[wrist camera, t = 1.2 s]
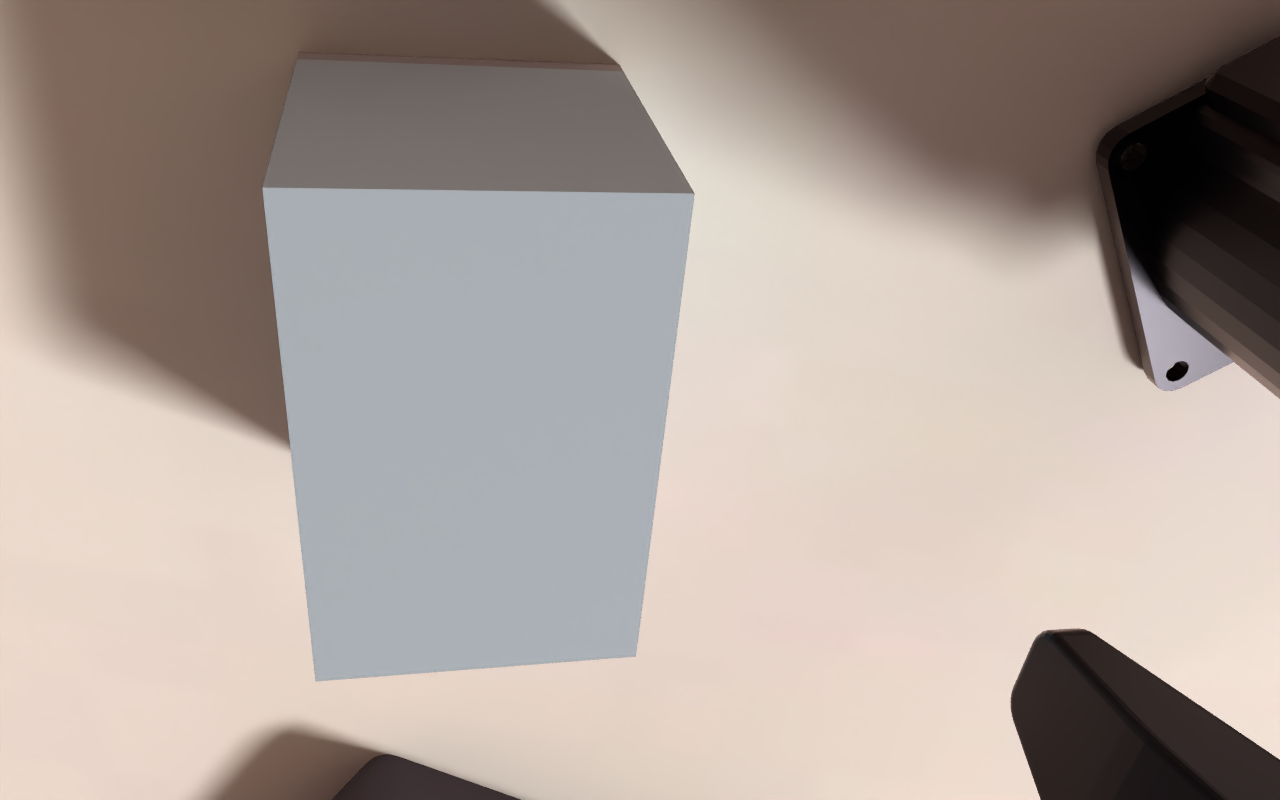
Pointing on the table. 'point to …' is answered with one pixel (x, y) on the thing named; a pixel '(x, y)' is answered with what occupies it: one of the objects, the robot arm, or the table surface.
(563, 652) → the block
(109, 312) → the table surface
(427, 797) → the black red beige box
